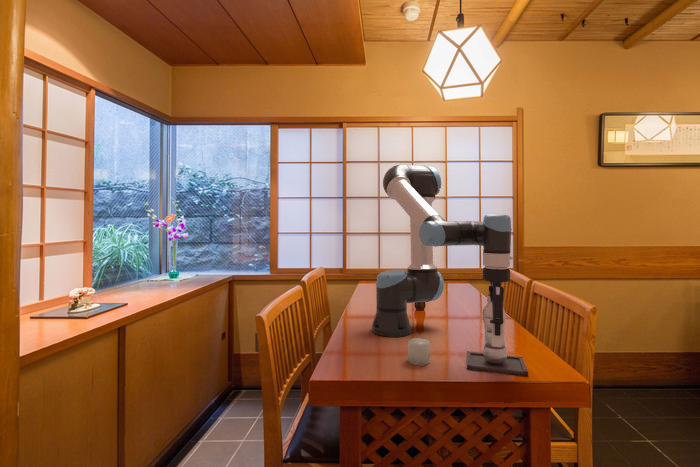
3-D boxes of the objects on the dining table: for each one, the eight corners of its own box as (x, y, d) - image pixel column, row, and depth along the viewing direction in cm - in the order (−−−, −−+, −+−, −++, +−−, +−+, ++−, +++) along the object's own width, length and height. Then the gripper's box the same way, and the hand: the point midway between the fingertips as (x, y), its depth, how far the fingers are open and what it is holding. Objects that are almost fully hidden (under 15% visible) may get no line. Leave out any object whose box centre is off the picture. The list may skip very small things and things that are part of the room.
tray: (466, 369, 107) (466, 365, 107) (467, 355, 119) (467, 351, 119) (528, 376, 102) (528, 372, 102) (522, 360, 114) (522, 356, 114)
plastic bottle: (505, 368, 106) (504, 298, 105) (480, 364, 110) (479, 296, 109) (509, 360, 111) (508, 294, 111) (485, 357, 115) (484, 292, 114)
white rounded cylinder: (409, 365, 110) (409, 345, 110) (406, 356, 117) (407, 337, 116) (431, 365, 110) (431, 345, 110) (427, 357, 116) (427, 338, 116)
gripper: (515, 273, 97) (513, 354, 97) (506, 263, 120) (505, 328, 121) (484, 272, 99) (483, 351, 100) (481, 262, 123) (480, 326, 123)
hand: (495, 339), depth 110 cm, fingers open, 13 cm apart
